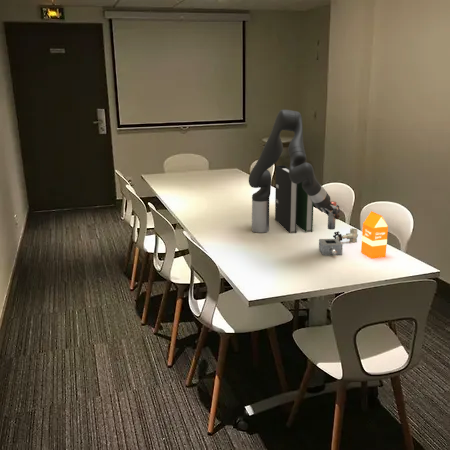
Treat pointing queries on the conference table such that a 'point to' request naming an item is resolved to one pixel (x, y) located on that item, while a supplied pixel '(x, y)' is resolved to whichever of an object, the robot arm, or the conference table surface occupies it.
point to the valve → (347, 235)
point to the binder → (292, 203)
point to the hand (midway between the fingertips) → (334, 216)
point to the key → (331, 219)
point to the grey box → (330, 247)
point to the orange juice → (374, 236)
